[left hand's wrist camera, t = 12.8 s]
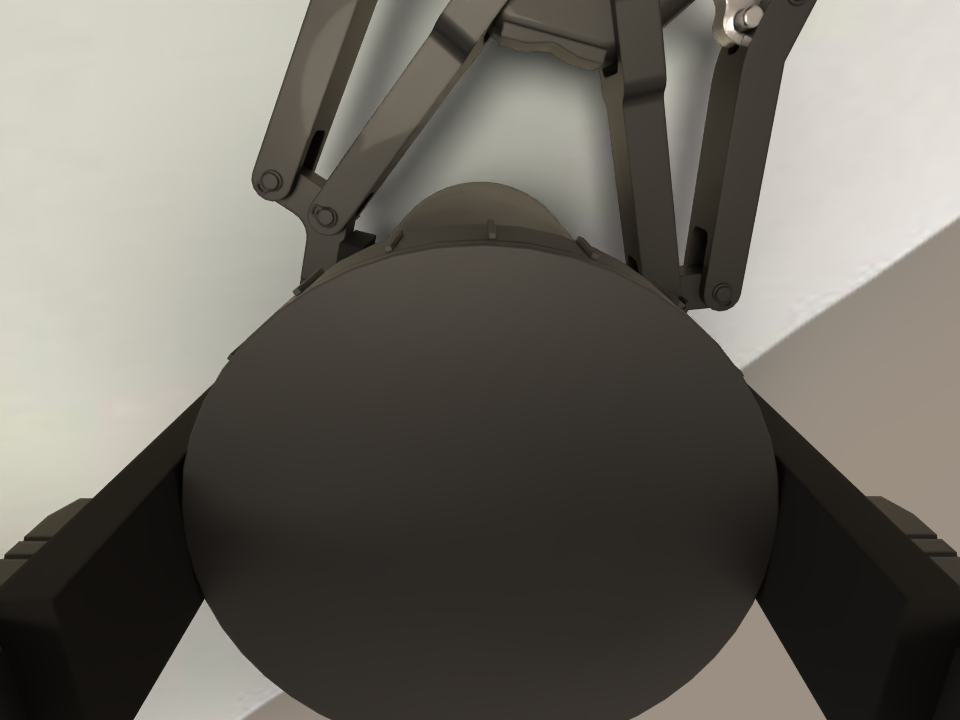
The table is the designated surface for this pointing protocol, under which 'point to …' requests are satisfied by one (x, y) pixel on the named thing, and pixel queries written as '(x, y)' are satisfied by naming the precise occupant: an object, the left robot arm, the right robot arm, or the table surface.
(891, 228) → the table surface
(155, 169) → the table surface
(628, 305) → the lid
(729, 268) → the right robot arm
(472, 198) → the jar
